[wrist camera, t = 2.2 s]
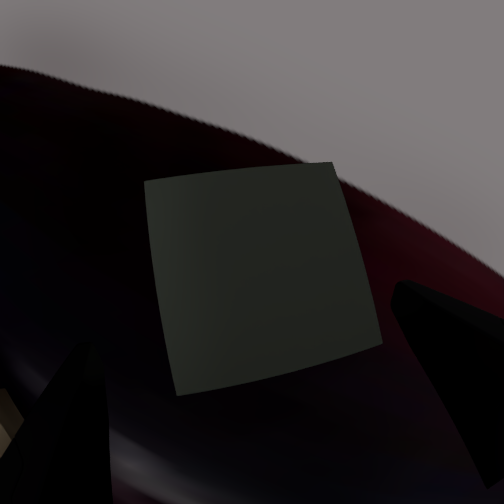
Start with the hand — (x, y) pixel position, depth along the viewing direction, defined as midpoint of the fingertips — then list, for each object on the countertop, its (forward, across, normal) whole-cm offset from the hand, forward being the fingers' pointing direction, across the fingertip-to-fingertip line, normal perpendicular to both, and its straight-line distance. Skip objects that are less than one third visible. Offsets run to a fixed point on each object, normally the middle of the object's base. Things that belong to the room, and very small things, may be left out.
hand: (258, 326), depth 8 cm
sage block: (+7, 0, +6) cm, 9 cm away
